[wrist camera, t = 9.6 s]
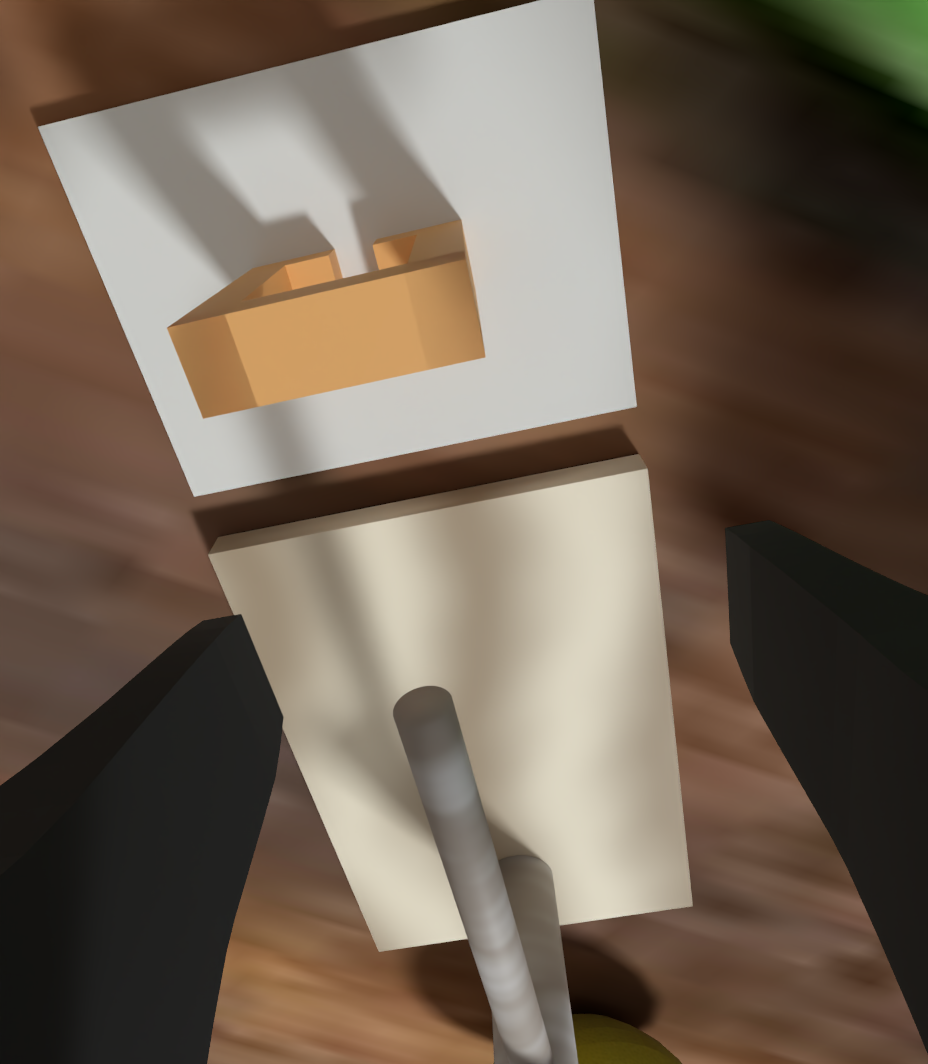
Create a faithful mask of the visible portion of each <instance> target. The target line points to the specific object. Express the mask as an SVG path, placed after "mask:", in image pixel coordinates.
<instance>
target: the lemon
mask: <svg viewBox="0 0 928 1064" xmlns="http://www.w3.org/2000/svg"><path fill="white" fill-rule="evenodd" d="M572 1021H573V1028H574V1036H575V1043H576V1050H577V1058H578V1064H682V1063H681V1062H680V1061H679V1059H678V1058H676V1057H675V1056H674V1055H673V1054H672V1053H671V1052H670V1051H669V1050H667V1049H666V1048H665V1047H664V1046H663V1045H662V1044H661V1043H660V1042H658V1041H657V1040H655V1039H654V1038H652V1037H651V1036H649V1035H647V1034H646V1033H644V1032H642V1031H640V1030H639V1029H637V1028H635V1027H633V1026H631V1025H629V1024H626V1023H624V1022H621V1021H618V1020H615V1019H613V1018H610V1017H607V1016H602V1015H596V1014H572ZM493 1064H494V1063H493Z"/></svg>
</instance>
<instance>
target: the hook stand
mask: <svg viewBox="0 0 928 1064" xmlns="http://www.w3.org/2000/svg"><path fill="white" fill-rule="evenodd" d="M208 556H209V558H210V560H211V563H212V565H213V567H214V570H215V572H216V574H217V577H218V579H219V581H220V584H221V586H222V588H223V591H224V593H225V595H226V598H227V600H228V602H229V605H230V607H231V609H232V611H233V614H234V615H238V614H241V615H242V617H243V619H244V622H245V624H246V627H247V629H248V632H249V634H250V636H251V639H252V641H253V644H254V646H255V649H256V651H257V653H258V656H259V658H260V661H261V663H262V666H263V668H264V670H265V673H266V675H267V678H268V680H269V683H270V685H271V687H272V690H273V692H274V695H275V697H276V700H277V702H278V704H279V707H280V709H281V712H282V714H283V717H284V718H283V726H282V728H283V730H284V732H285V735H286V737H287V739H288V742H289V744H290V746H291V749H292V751H293V753H294V756H295V758H296V760H297V762H298V765H299V767H300V769H301V772H302V774H303V776H304V779H305V781H306V783H307V786H308V788H309V790H310V793H311V795H312V797H313V800H314V802H315V804H316V807H317V809H318V811H319V814H320V816H321V818H322V821H323V823H324V825H325V828H326V830H327V832H328V835H329V837H330V839H331V841H332V844H333V846H334V848H335V851H336V853H337V855H338V858H339V860H340V862H341V865H342V867H343V869H344V872H345V874H346V876H347V879H348V881H349V883H350V886H351V888H352V890H353V893H354V895H355V897H356V900H357V902H358V904H359V907H360V909H361V911H362V913H363V916H364V918H365V920H366V923H367V925H368V927H369V930H370V932H371V934H372V937H373V939H374V941H375V944H376V946H377V948H378V951H379V952H381V951H388V950H394V949H401V948H408V947H415V946H422V945H429V944H436V943H442V942H449V941H456V940H463V939H468V941H469V944H470V947H471V950H472V953H473V956H474V959H475V962H476V965H477V968H478V971H479V974H480V977H481V980H482V983H483V986H484V989H485V992H486V995H487V998H488V1001H489V1004H490V1007H491V1010H492V1022H493V1044H494V1064H578V1058H577V1050H576V1043H575V1036H574V1028H573V1021H572V1014H571V1006H570V999H569V991H568V984H567V977H566V969H565V962H564V955H563V947H562V940H561V932H560V925H566V924H573V923H580V922H586V921H593V920H600V919H607V918H614V917H621V916H628V915H634V914H641V913H648V912H655V911H662V910H669V909H676V908H682V907H689V906H693V904H692V894H691V884H690V875H689V865H688V855H687V846H686V836H685V826H684V817H683V807H682V797H681V788H680V778H679V768H678V758H677V749H676V739H675V729H674V720H673V710H672V700H671V691H670V681H669V671H668V662H667V652H666V642H665V632H664V623H663V613H662V603H661V594H660V584H659V574H658V565H657V555H656V545H655V536H654V526H653V516H652V506H651V497H650V487H649V477H648V468H647V467H646V465H645V463H644V461H643V460H642V458H641V456H640V455H639V454H636V455H631V456H626V457H621V458H616V459H611V460H606V461H600V462H595V463H590V464H585V465H580V466H575V467H570V468H565V469H560V470H555V471H550V472H545V473H540V474H535V475H530V476H525V477H520V478H515V479H510V480H505V481H499V482H494V483H489V484H484V485H479V486H474V487H469V488H464V489H459V490H454V491H449V492H444V493H439V494H434V495H429V496H424V497H419V498H414V499H409V500H403V501H398V502H393V503H388V504H383V505H378V506H373V507H368V508H363V509H358V510H353V511H348V512H343V513H338V514H333V515H328V516H323V517H318V518H313V519H307V520H302V521H297V522H292V523H287V524H282V525H277V526H272V527H267V528H262V529H257V530H252V531H247V532H242V533H237V534H232V535H227V536H222V537H218V538H217V540H216V542H215V543H214V545H213V547H212V549H211V550H210V552H209V554H208Z"/></svg>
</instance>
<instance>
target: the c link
mask: <svg viewBox="0 0 928 1064" xmlns="http://www.w3.org/2000/svg"><path fill="white" fill-rule="evenodd" d="M373 249H374V253H375V257H376V261H377V264H378V268H379V270H377V271H372V272H368V273H364V274H359V275H355V276H351V277H346V278H343V277H342V273H341V269H340V266H339V262H338V259H337V255H336V252H335V249H332V250H328V251H324V252H320V253H315V254H311V255H307V256H303V257H298V258H294V259H290V260H286V261H281V262H277V263H273V264H268V265H264V266H260V267H256V268H252V269H251V270H249V271H248V272H246V273H245V274H243V275H242V276H241V277H239V278H238V279H236V280H235V281H233V282H232V283H230V284H229V285H228V286H226V287H225V288H223V289H222V290H220V291H219V292H218V293H216V294H215V295H213V296H212V297H210V298H209V299H207V300H206V301H205V302H203V303H202V304H200V305H199V306H197V307H196V308H194V309H193V310H192V311H190V312H189V313H187V314H186V315H184V316H183V317H181V318H180V319H179V320H177V321H176V322H174V323H173V324H171V325H170V326H169V327H167V330H168V332H169V335H170V337H171V340H172V342H173V345H174V347H175V350H176V352H177V355H178V357H179V360H180V362H181V365H182V367H183V370H184V372H185V375H186V377H187V380H188V382H189V385H190V387H191V390H192V392H193V395H194V397H195V400H196V402H197V405H198V407H199V410H200V412H201V415H202V417H203V419H205V418H209V417H214V416H218V415H223V414H228V413H232V412H237V411H241V410H246V409H251V408H255V407H260V406H264V405H269V404H274V403H278V402H283V401H287V400H292V399H297V398H301V397H306V396H310V395H315V394H320V393H324V392H329V391H333V390H338V389H343V388H347V387H352V386H357V385H361V384H366V383H370V382H375V381H380V380H384V379H389V378H393V377H398V376H403V375H407V374H412V373H416V372H421V371H426V370H430V369H435V368H439V367H444V366H449V365H453V364H458V363H462V362H467V361H472V360H476V359H481V358H485V357H486V356H485V349H484V343H483V336H482V329H481V323H480V316H479V309H478V303H477V296H476V289H475V285H474V280H473V275H472V270H471V265H470V260H469V255H468V250H467V245H466V240H465V235H464V230H463V225H462V220H461V219H460V220H456V221H452V222H448V223H443V224H439V225H435V226H431V227H426V228H422V229H418V230H414V231H409V232H405V233H401V234H396V235H392V236H388V237H384V238H379V239H376V241H375V242H374V244H373Z"/></svg>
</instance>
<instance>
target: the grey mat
mask: <svg viewBox="0 0 928 1064" xmlns="http://www.w3.org/2000/svg"><path fill="white" fill-rule="evenodd" d="M38 128H39V131H40V133H41V135H42V138H43V140H44V143H45V145H46V147H47V150H48V152H49V154H50V157H51V159H52V161H53V164H54V166H55V169H56V171H57V173H58V176H59V178H60V180H61V183H62V185H63V188H64V190H65V192H66V195H67V197H68V199H69V202H70V204H71V206H72V209H73V211H74V214H75V216H76V218H77V221H78V223H79V225H80V228H81V230H82V232H83V235H84V237H85V240H86V242H87V244H88V247H89V249H90V251H91V254H92V256H93V258H94V261H95V263H96V266H97V268H98V270H99V273H100V275H101V277H102V280H103V282H104V285H105V287H106V289H107V292H108V294H109V296H110V299H111V301H112V303H113V306H114V308H115V311H116V313H117V315H118V318H119V320H120V322H121V325H122V327H123V329H124V332H125V334H126V337H127V339H128V341H129V344H130V346H131V348H132V351H133V353H134V355H135V358H136V360H137V363H138V365H139V367H140V370H141V372H142V374H143V377H144V379H145V382H146V384H147V386H148V389H149V391H150V393H151V396H152V398H153V400H154V403H155V405H156V408H157V410H158V412H159V415H160V417H161V419H162V422H163V424H164V426H165V429H166V431H167V434H168V436H169V438H170V441H171V443H172V445H173V448H174V450H175V452H176V455H177V457H178V460H179V462H180V464H181V467H182V469H183V471H184V474H185V476H186V479H187V481H188V483H189V486H190V488H191V490H192V493H193V495H194V497H195V496H200V495H205V494H210V493H215V492H220V491H225V490H230V489H234V488H239V487H244V486H249V485H254V484H259V483H264V482H269V481H274V480H279V479H284V478H289V477H293V476H298V475H303V474H308V473H313V472H318V471H323V470H328V469H333V468H338V467H343V466H348V465H352V464H357V463H362V462H367V461H372V460H377V459H382V458H387V457H392V456H397V455H402V454H407V453H411V452H416V451H421V450H426V449H431V448H436V447H441V446H446V445H451V444H456V443H461V442H466V441H470V440H475V439H480V438H485V437H490V436H495V435H500V434H505V433H510V432H515V431H520V430H525V429H530V428H534V427H539V426H544V425H549V424H554V423H559V422H564V421H569V420H574V419H579V418H584V417H589V416H593V415H598V414H603V413H608V412H613V411H618V410H623V409H628V408H633V407H637V404H636V394H635V385H634V376H633V366H632V357H631V347H630V338H629V328H628V319H627V310H626V300H625V291H624V281H623V272H622V262H621V253H620V244H619V234H618V225H617V215H616V206H615V197H614V187H613V178H612V168H611V159H610V149H609V140H608V131H607V121H606V112H605V102H604V93H603V83H602V74H601V65H600V55H599V46H598V36H597V27H596V17H595V8H594V0H539V1H535V2H531V3H527V4H523V5H519V6H515V7H511V8H507V9H503V10H499V11H495V12H491V13H487V14H483V15H479V16H475V17H471V18H468V19H464V20H460V21H456V22H452V23H448V24H444V25H440V26H436V27H432V28H428V29H424V30H420V31H416V32H412V33H408V34H404V35H400V36H396V37H392V38H388V39H384V40H380V41H376V42H372V43H368V44H364V45H360V46H356V47H353V48H349V49H345V50H341V51H337V52H333V53H329V54H325V55H321V56H317V57H313V58H309V59H305V60H301V61H297V62H293V63H289V64H285V65H281V66H277V67H273V68H269V69H265V70H261V71H257V72H253V73H249V74H245V75H241V76H237V77H234V78H230V79H226V80H222V81H218V82H214V83H210V84H206V85H202V86H198V87H194V88H190V89H186V90H182V91H178V92H174V93H170V94H166V95H162V96H158V97H154V98H150V99H146V100H142V101H138V102H134V103H130V104H126V105H122V106H118V107H115V108H111V109H107V110H103V111H99V112H95V113H91V114H87V115H83V116H79V117H75V118H71V119H67V120H63V121H59V122H55V123H51V124H47V125H43V126H39V127H38ZM460 219H461V220H462V225H463V230H464V235H465V240H466V245H467V250H468V255H469V260H470V265H471V270H472V275H473V280H474V285H475V289H476V296H477V303H478V309H479V316H480V323H481V329H482V336H483V343H484V349H485V356H486V357H485V358H481V359H476V360H472V361H467V362H462V363H458V364H453V365H449V366H444V367H439V368H435V369H430V370H426V371H421V372H416V373H412V374H407V375H403V376H398V377H393V378H389V379H384V380H380V381H375V382H370V383H366V384H361V385H357V386H352V387H347V388H343V389H338V390H333V391H329V392H324V393H320V394H315V395H310V396H306V397H301V398H297V399H292V400H287V401H283V402H278V403H274V404H269V405H264V406H260V407H255V408H251V409H246V410H241V411H237V412H232V413H228V414H223V415H218V416H214V417H209V418H205V419H203V417H202V415H201V412H200V410H199V407H198V405H197V402H196V400H195V397H194V395H193V392H192V390H191V387H190V385H189V382H188V380H187V377H186V375H185V372H184V370H183V367H182V365H181V362H180V360H179V357H178V355H177V352H176V350H175V347H174V345H173V342H172V340H171V337H170V335H169V332H168V330H167V327H169V326H170V325H171V324H173V323H174V322H176V321H177V320H179V319H180V318H181V317H183V316H184V315H186V314H187V313H189V312H190V311H192V310H193V309H194V308H196V307H197V306H199V305H200V304H202V303H203V302H205V301H206V300H207V299H209V298H210V297H212V296H213V295H215V294H216V293H218V292H219V291H220V290H222V289H223V288H225V287H226V286H228V285H229V284H230V283H232V282H233V281H235V280H236V279H238V278H239V277H241V276H242V275H243V274H245V273H246V272H248V271H249V270H251V269H252V268H256V267H260V266H264V265H268V264H273V263H277V262H281V261H286V260H290V259H294V258H298V257H303V256H307V255H311V254H315V253H320V252H324V251H328V250H332V249H335V252H336V255H337V259H338V262H339V266H340V269H341V273H342V277H343V278H346V277H351V276H355V275H359V274H364V273H368V272H372V271H377V270H379V268H378V264H377V261H376V257H375V253H374V249H373V244H374V242H375V241H376V239H379V238H384V237H388V236H392V235H396V234H401V233H405V232H409V231H414V230H418V229H422V228H426V227H431V226H435V225H439V224H443V223H448V222H452V221H456V220H460Z"/></svg>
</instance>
